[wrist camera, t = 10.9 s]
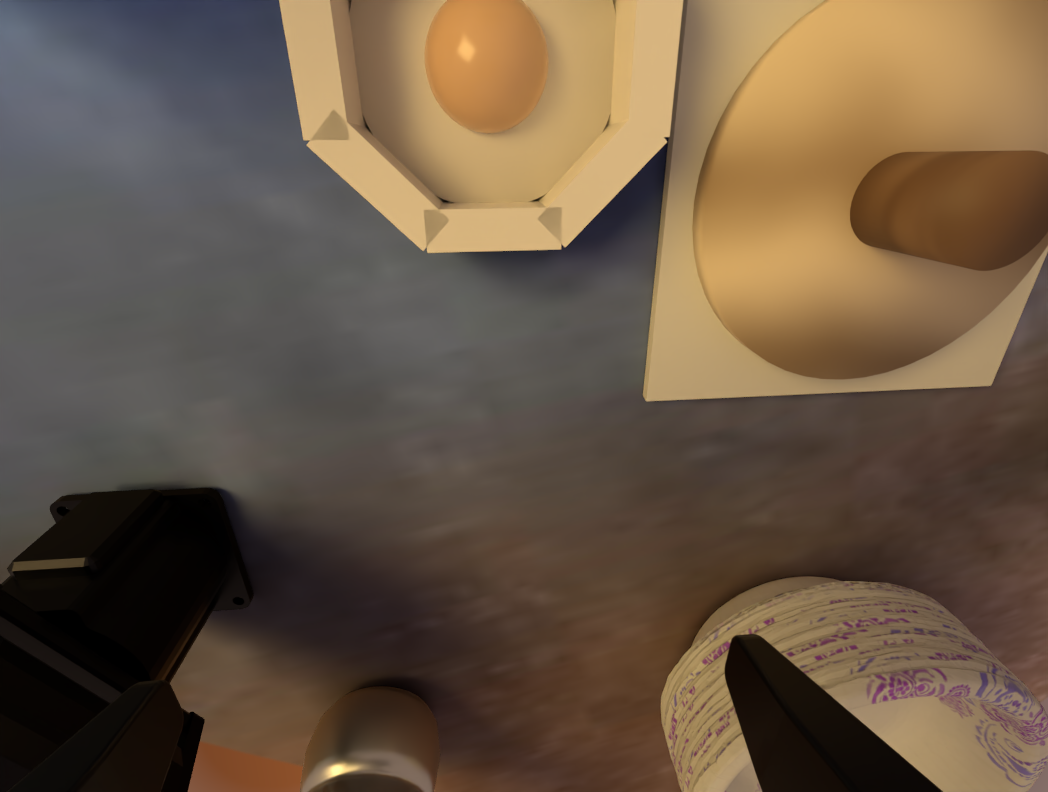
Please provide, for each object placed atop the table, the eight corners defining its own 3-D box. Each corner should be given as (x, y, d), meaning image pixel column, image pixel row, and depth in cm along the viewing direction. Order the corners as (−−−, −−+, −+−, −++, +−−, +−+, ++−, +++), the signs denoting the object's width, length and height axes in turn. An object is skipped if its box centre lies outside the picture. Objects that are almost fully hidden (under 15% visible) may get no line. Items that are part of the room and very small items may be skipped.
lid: (976, 363, 21) (1112, 419, 17) (672, 376, 20) (727, 439, 16) (1134, -32, 16) (1403, -109, 11) (723, -38, 15) (833, -125, 10)
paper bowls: (600, 707, 30) (638, 882, 23) (719, 503, 24) (821, 652, 17) (815, 737, 33) (910, 899, 26) (967, 562, 27) (1144, 709, 20)
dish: (626, 230, 19) (658, 247, 15) (353, 236, 18) (323, 255, 15) (652, -131, 15) (705, -220, 11) (296, -140, 14) (237, -237, 10)
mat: (980, 381, 22) (991, 385, 22) (642, 396, 21) (646, 401, 21) (1163, -65, 16) (1183, -71, 15) (689, -74, 15) (696, -82, 14)
